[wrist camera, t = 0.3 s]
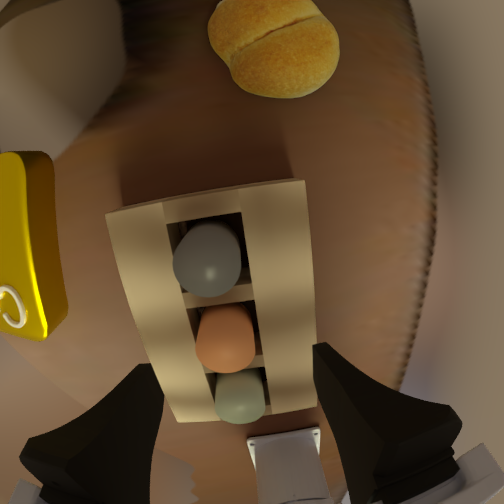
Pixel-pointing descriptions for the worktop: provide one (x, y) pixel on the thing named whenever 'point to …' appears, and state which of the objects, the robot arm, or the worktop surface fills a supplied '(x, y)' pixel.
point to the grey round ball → (208, 259)
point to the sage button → (239, 396)
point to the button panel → (246, 288)
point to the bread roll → (275, 45)
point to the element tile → (29, 247)
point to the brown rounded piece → (225, 338)
